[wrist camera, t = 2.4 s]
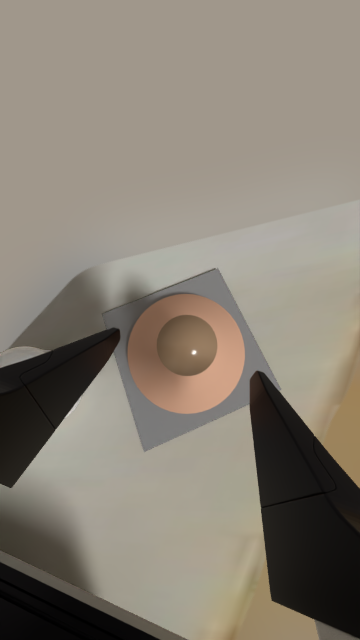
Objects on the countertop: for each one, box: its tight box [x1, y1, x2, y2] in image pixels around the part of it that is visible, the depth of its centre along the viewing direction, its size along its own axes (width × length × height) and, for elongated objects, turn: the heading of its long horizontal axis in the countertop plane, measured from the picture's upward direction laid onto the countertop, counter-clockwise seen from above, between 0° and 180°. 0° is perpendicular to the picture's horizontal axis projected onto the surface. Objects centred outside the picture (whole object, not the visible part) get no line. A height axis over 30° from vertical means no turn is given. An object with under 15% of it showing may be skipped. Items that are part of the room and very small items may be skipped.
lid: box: [128, 294, 245, 414], centre depth 13 cm, size 13×13×10 cm
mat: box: [102, 268, 281, 452], centre depth 18 cm, size 16×16×1 cm
